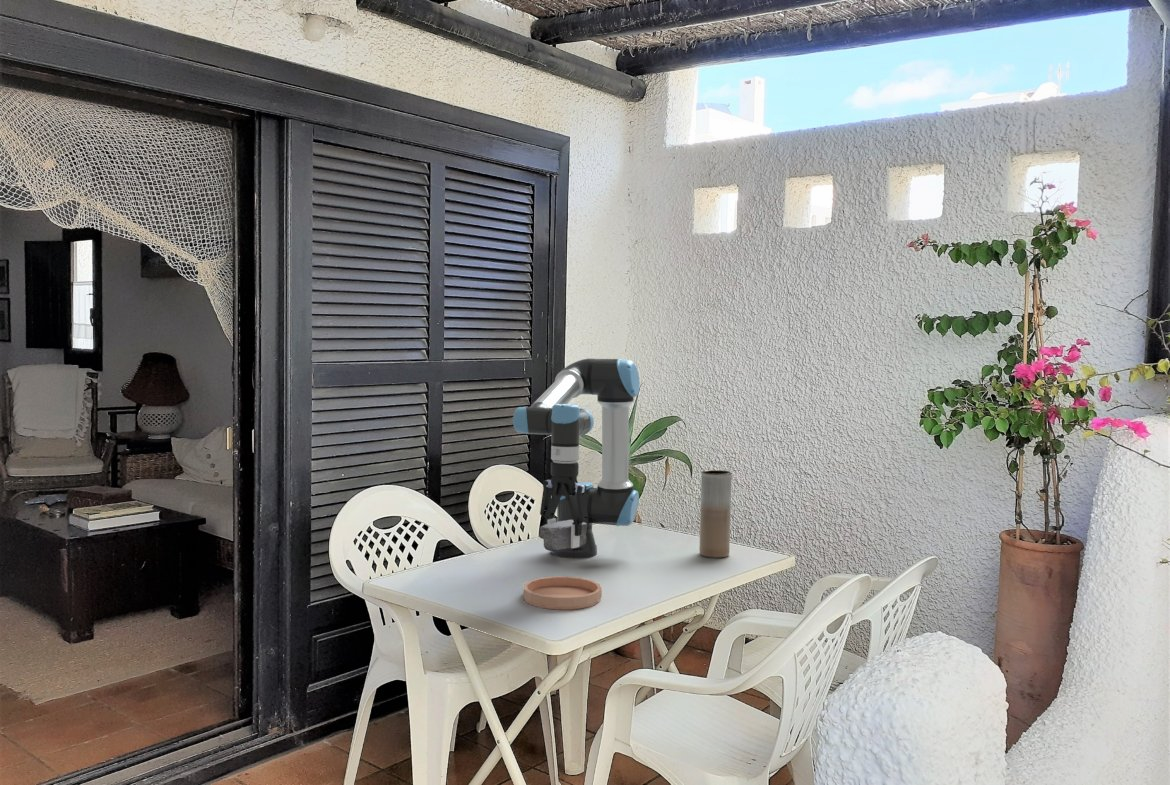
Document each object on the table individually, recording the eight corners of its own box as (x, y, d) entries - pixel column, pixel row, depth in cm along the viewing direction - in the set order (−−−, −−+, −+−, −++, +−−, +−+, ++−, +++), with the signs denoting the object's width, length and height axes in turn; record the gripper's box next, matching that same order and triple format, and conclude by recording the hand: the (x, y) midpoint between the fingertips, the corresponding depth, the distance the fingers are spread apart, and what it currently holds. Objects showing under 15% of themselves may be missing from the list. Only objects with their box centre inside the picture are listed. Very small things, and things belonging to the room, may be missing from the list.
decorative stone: (592, 545, 245) (560, 539, 250) (593, 520, 245) (562, 515, 249) (567, 556, 232) (534, 550, 237) (569, 530, 232) (535, 525, 236)
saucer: (507, 598, 240) (507, 587, 240) (558, 583, 256) (558, 572, 256) (566, 615, 227) (566, 602, 226) (616, 597, 243) (616, 586, 243)
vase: (734, 557, 292) (736, 473, 290) (705, 558, 289) (708, 474, 288) (722, 550, 301) (724, 469, 300) (694, 551, 299) (697, 470, 297)
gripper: (527, 458, 243) (525, 541, 244) (585, 466, 230) (583, 553, 231) (545, 456, 249) (544, 536, 250) (603, 463, 236) (601, 548, 237)
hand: (563, 544), depth 240 cm, fingers closed on decorative stone, 8 cm apart
